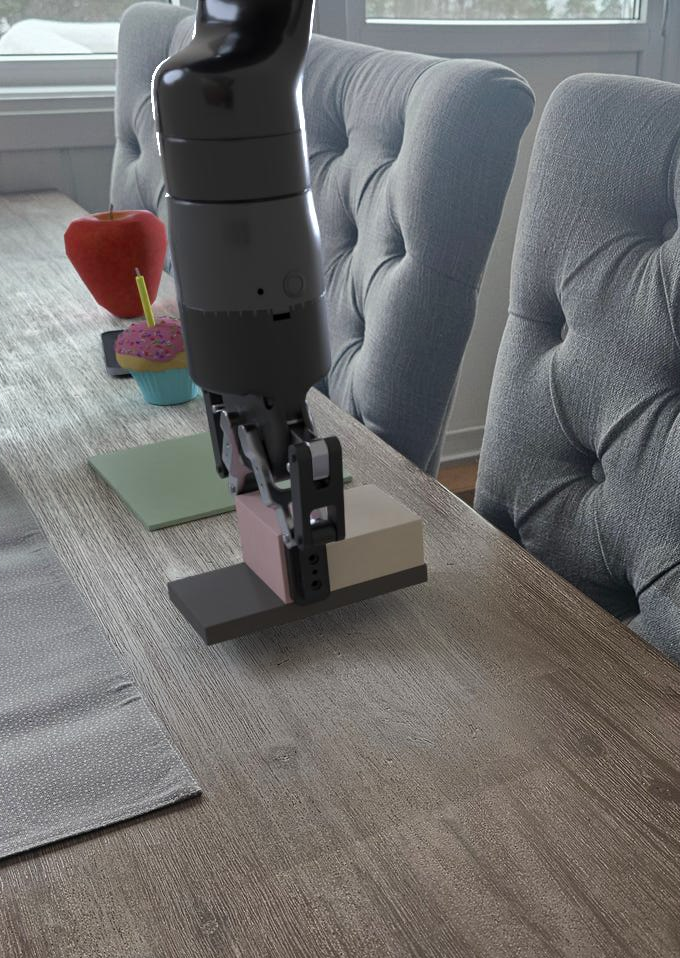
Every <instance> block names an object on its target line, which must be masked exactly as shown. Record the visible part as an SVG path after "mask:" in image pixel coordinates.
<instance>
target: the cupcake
mask: <svg viewBox="0 0 680 958" xmlns="http://www.w3.org/2000/svg"><path fill="white" fill-rule="evenodd" d="M135 269H136V272H137V277H136V281H137V285H138V289H139V293H140V297H141V301H142V305H143V309H144V313H145V314H144V316H145V319H144V320H143V321H139V322H136V323H131V324H130V326H128V327H127V328H124V329H125V330H124V331H123V332H122V334H119V335H118V339H117V340H116V342H115V346H114V349H115V352H116V359H117V362H118V363H119V365H120V366H121V367H122V368H124V369H127V370H129V372H130V375H131V377H132V378H133V380H134V381H135V383H136V385H137V386H138V388H139V390H140V392H141V394H142V396H143V399H144V400H145V401H146V402H147V403H148V404H152V405H157V406H170V405H171V406H172V405H178V404H183V403H186V402H189V401H192V400H193V399H195V398H196V397H197V396H198V390H199V386H197V385H196V384H195V383H194V382H193V381H192V380H191V378H190V376H189V373H188V366H187V360H186V353H185V347H184V341H183V334H182V328H181V321H180V318H176V317H172V316H168V317H167V316H166V315H163V316H159V317H154V314H153V309H152V305H151V306H150V302H149V298H148V294H147V290H146V286H145V282H144V278H143V276H140V274H139V271H138V269H137V268H135Z"/></svg>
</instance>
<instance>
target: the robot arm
mask: <svg viewBox="0 0 680 958" xmlns="http://www.w3.org/2000/svg"><path fill="white" fill-rule="evenodd" d="M315 4H316V0H197V3H196V12H195V13H196V14H195V21H194V30H193V35H192V39H191V41H190V42H189V43H188V45H186V47H184V48H183V49H182V50H179V51H178V52H177V53H175V54H172V55H171V56H169V57H168V58H167V59H165V60H163V61H162V62H161V63H160V64H159V65H158V66H157V67H156V69H155V71H154V73H153V75H152V80H151V81H152V82H151V103H152V112H153V113H152V114H153V120H154V125H155V126H154V127H155V132H156V138H157V145H158V151H159V157H160V164H161V171H162V176H163V178H162V179H163V183H164V189H165V191H164V192H165V193H166V195H165V198H166V208H167V243H168V249H169V257H170V263H171V264H170V265H171V270H172V277H173V283H174V289H175V295H176V302H177V308H178V314H179V319H180V321H181V328H182V334H183V341H184V347H185V353H186V360H187V366H188V373H189V376H190V378H191V380H192V381H193V382H194V383H195V384H196V385H197V386H198V388H200V390H201V393H202V397H203V402H204V407H205V413H206V419H207V423H208V429H209V430H208V431H210V436H211V441H212V447H213V452H214V458H215V463H216V471H217V473H218V474H219V476H220V478H221V479H224V478H228V490H229V492H230V494H231V496H232V497H233V498H234V499H235V496H237V495H242V494H246V493H250V492H254V491H258V490H260V494H261V497H262V500H263V503H264V505H265V506H266V507H268V508H271V509H273V510H274V511H275V513H276V516H277V520H278V523H279V526H280V530H281V533H282V539H283V541H284V543H285V544H284V550H285V558H286V566H287V575H288V583H289V591H290V598H291V599H292V600H293V601H294V602H295V603H296V604H297V605H298V606H305V605H309V604H312V603H316V602H319V601H322V600H325V599H327V598H328V597H329V595H330V592H331V590H330V580H329V570H328V560H327V549H326V544H328V543H331V542H337V541H341V540H344V539H345V536H346V533H345V509H344V490H345V487H344V483H343V470H344V465H343V447H342V444H341V441H340V439H339V438H338V436H336V435H334V434H333V435H329V436H324V437H319V435H318V434H319V433H318V429H317V427H316V423H315V420H314V416H313V414H312V413H311V411H310V406H309V402H308V400H307V394H308V392H309V391H310V390H311V388H312V387H313V386H314V385H316V384H317V383H320V382H321V381H323V380H324V379H325V378H326V377H327V376H328V375H329V373H330V371H331V370H332V364H333V359H332V349H331V337H330V328H329V327H330V326H329V316H328V315H329V314H328V303H327V302H328V301H327V293H326V292H327V291H326V281H325V268H324V257H323V246H322V245H323V243H322V237H321V230H320V225H319V220H318V216H317V213H316V208H315V203H314V197H313V189H312V186H311V185H312V177H311V167H310V166H311V165H310V156H309V145H308V144H309V143H308V131H307V127H306V126H307V123H306V122H307V121H306V114H305V108H304V107H305V106H304V96H303V95H304V94H303V92H304V83H305V76H306V70H307V66H308V60H309V56H310V55H309V53H310V48H311V42H312V41H311V39H312V31H313V24H314V23H313V21H314V14H315V6H316V5H315ZM286 480H290V482H291V487H290V488H286V489H280V488H278V487H277V486H276V485H275V483H277V482H281V481H286ZM290 503H292V509H293V517H292V513H291V510H290ZM325 507H327V511H326V508H325ZM310 514H311V515H312V519H313V520H310Z"/></svg>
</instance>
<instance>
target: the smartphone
mask: <svg viewBox="0 0 680 958" xmlns="http://www.w3.org/2000/svg"><path fill="white" fill-rule="evenodd" d="M125 329H126V328H124V329H116V330H115V329H114V330H107V331H104V332H100V341H101V342H100V343H101V347H102V352H103V363H104V364H105V370H106V373H107V374H108V375H111V376H121V375H129V374H130V375H131V373H130V372H129V370H127V369H124V368H122V367H121V366H120V365H119V363H118V362H117V359H116V352H115V349H114V346H115V342H116V340H117V339H118V335H119V334H122V332H123V331H124V330H125Z"/></svg>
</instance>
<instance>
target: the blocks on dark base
mask: <svg viewBox="0 0 680 958" xmlns="http://www.w3.org/2000/svg"><path fill="white" fill-rule="evenodd" d="M277 487H278V488H280V487H279V486H277ZM280 489H281V488H280ZM235 504H236V510H235V512H236V517H237V524H238V532H239V539H240V545H241V554H242V560H243V562H239V563H236V564H232V565H228V566H224V567H221V568H217V569H213V570H209V571H205V572H202V573H198V574H194V575H189V576H186V577H183V578H180V579H175V580H172V581H168V582H166V587H167V592H168V597H169V598H168V599H169V600H170V602H171V603H172V604H173V605H174V606H175V608H176V609H177V611H178V612H180V614H181V615H182V616H183V618H184V619H185V621H187V623H188V624H189V625H190V626H191V627H192V629H193V630H194V631H195V632H196V634H197V635H198V636H199V637H200V639H201V640H202V641H203V642H204V643H205V644H206V646H207V647H211V646H214V645H217V644H221V643H224V642H227V641H230V640H234V639H237V638H241V637H244V636H248V635H251V634H254V633H257V632H261V631H264V630H267V629H271V628H274V627H275V628H276V627H277V626H282V625H285V624H288V623H291V622H295V621H298V620H302V619H305V618H308V617H312V616H315V615H318V614H321V613H325V612H328V611H331V610H335V609H338V608H342V607H345V606H349V605H352V604H356V603H358V602H362V601H366V600H369V599H373V598H376V597H379V596H383V595H385V594H389V593H392V592H393V593H394V592H396V591H399V590H402V589H406V588H411V587H413V586H416V585H420V584H423V583H426V582H428V580H429V578H428V577H429V575H428V564H427V563H426V562H425V552H424V529H423V528H424V526H423V525H424V524H423V518H422V517H420V516H418V514H416V513H415V512H413V511H411V510H410V509H409V508H407V507H406V506H405V505H404V504H402V503H401V502H400V501H397V500H396V499H395V498H393V497H392V496H391V495H390V494H388V493H387V492H386V491H384V490H382V489H381V488H380V487H379V486H376V485H375V484H374V483H369V484H363V485H360V486H356V487H351V488H347V489H344V509H345V533H346V536H345V539H344V540H341V541H337V542H331V543H328V544H326V549H327V560H328V570H329V580H330V590H331V592H330V595H329V597H328V598H327V599H325V600H322V601H319V602H316V603H312V604H309V605H305V606H298V605H297V604H296V603H295V602H294V601H293V600H292V599H291V598H290V591H289V583H288V575H287V566H286V558H285V550H284V544H285V543H284V541H283V539H282V533H281V530H280V526H279V523H278V520H277V516H276V513H275V511H274V510H273V509H271V508H268V507H266V506H265V505H264V503H263V500H262V497H261V494H260V490H258V491H254V492H250V493H246V494H242V495H237V496H235ZM325 508H326V511H327V507H325ZM290 510H291V513H292V517H293V509H292V503H290ZM310 520H313V519H312V515H311V514H310Z"/></svg>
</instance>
